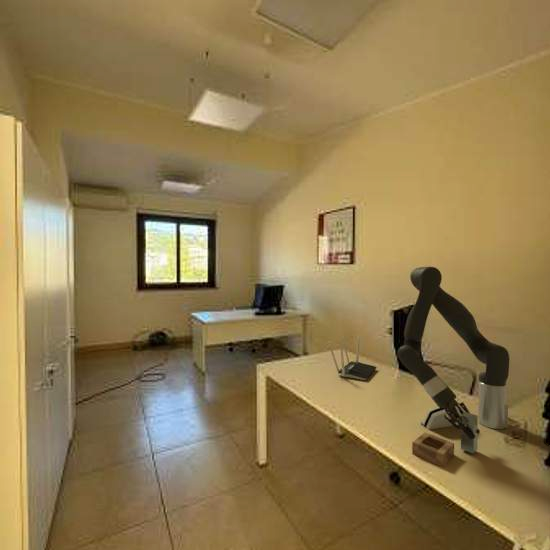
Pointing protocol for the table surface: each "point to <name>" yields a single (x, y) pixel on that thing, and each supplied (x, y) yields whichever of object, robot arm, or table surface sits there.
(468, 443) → the square bit
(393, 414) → the table surface
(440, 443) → the socket block
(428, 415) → the white rounded block
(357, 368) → the wireless router
